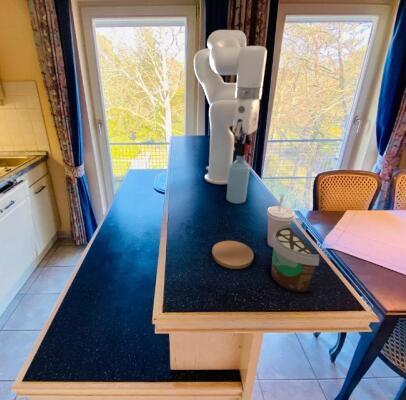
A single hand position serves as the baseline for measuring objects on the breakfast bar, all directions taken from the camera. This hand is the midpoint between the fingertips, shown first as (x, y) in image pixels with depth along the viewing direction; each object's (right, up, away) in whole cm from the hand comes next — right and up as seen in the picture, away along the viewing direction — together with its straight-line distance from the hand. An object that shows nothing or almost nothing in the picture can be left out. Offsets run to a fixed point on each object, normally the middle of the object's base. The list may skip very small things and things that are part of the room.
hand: (241, 153), depth 87 cm
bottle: (0, -15, +8) cm, 17 cm away
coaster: (-8, -29, -22) cm, 37 cm away
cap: (0, 0, 0) cm, 0 cm away
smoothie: (+4, -27, -17) cm, 32 cm away
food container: (+1, -32, -29) cm, 43 cm away
